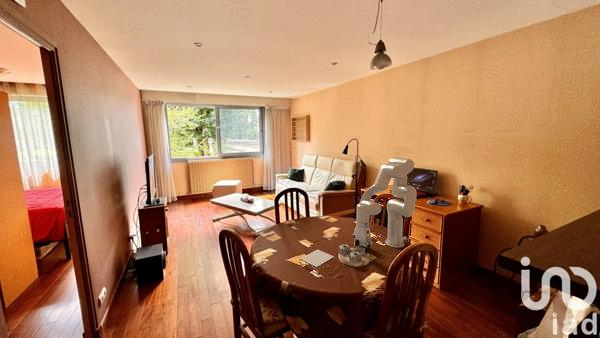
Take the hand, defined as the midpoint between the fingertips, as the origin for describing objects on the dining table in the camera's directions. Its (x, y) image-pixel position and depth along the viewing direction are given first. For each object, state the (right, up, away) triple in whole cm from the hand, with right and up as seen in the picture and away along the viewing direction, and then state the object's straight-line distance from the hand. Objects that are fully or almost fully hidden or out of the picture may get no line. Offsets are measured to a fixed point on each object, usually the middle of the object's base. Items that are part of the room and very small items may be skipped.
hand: (362, 249), depth 149 cm
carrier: (-6, -5, -2) cm, 8 cm away
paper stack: (-28, -6, -7) cm, 30 cm away
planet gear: (0, -2, 0) cm, 2 cm away
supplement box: (+3, -3, +12) cm, 13 cm away
